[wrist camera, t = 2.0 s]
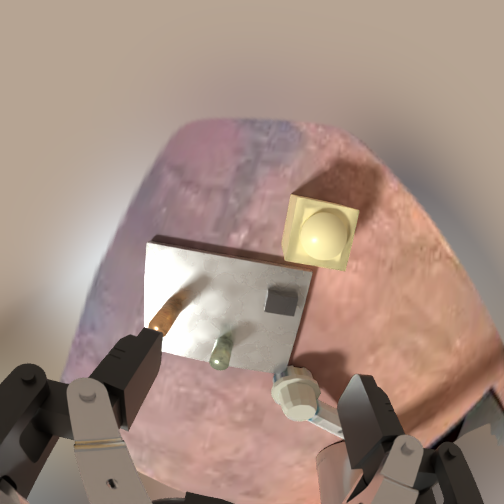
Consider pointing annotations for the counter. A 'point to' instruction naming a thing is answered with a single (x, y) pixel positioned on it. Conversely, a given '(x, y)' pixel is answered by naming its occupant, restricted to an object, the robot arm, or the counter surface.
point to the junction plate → (224, 306)
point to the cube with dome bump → (318, 232)
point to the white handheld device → (304, 399)
